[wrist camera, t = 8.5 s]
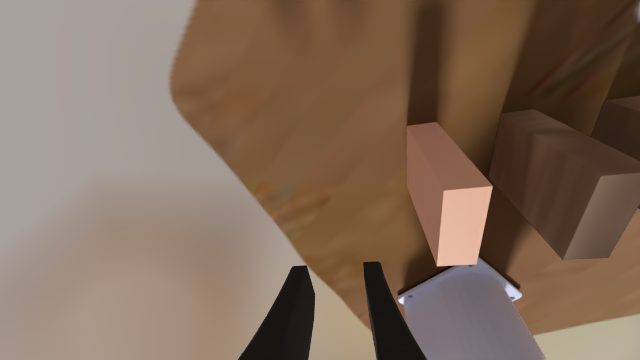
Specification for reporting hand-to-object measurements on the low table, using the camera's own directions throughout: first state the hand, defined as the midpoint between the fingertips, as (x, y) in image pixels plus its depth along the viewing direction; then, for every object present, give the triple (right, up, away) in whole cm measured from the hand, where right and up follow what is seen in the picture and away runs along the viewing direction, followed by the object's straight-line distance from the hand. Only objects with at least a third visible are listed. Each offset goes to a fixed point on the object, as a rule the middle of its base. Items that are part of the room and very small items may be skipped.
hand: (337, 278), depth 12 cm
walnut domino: (+13, +7, +7) cm, 16 cm away
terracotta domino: (+7, +6, +8) cm, 12 cm away
